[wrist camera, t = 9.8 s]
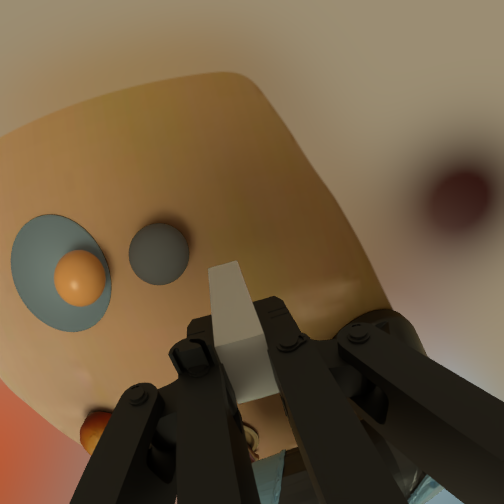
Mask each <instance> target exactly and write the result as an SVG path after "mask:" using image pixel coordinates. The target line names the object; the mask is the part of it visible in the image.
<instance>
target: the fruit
mask: <svg viewBox="0 0 504 504" xmlns="http://www.w3.org/2000/svg"><path fill="white" fill-rule="evenodd" d="M111 415H112V414H111V413H107V412H101V411H97V412H94V413H90V412H89V414H88V416H87V418H86V419H85V421H84V423H83V425H82V427H81V429H80V442H81V444H82V446H83V447H84V448H85V450H86V451H87V452H88V453H89V454H90V455H92V453H93V451H94V449H95V447H96V445H97V443H98V441H99V439H100V437H101V435H102V433H103V431H104V429H105V427H106V425H107V423H108V421H109V419H110V417H111Z"/></svg>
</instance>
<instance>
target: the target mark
mask: <svg viewBox="0 0 504 504" xmlns="http://www.w3.org/2000/svg"><path fill="white" fill-rule="evenodd" d="M74 250H84V251H88V252H90V253H92V254H93V255H95V256H96V257H97V258H98V259H99V260H100V262H101V263H102V265H103V268H104V271H105V276H106V282H105V288H104V290H103V293H102V294H101V296H100V297H99V298H98V299H97V301H95V302H94V303H92V304H90V305H88V306H83V307H77V306H73V305H70V304H69V303H67V302H66V301H64V300H63V299H62V298H61V297H60V295H59V294H58V292H57V290H56V288H55V284H54V271H55V268H56V265H57V263H58V261H59V260H60V259H61V258H62V257H63V256H64V255H65V254H67V253H68V252H71V251H74ZM11 270H12V276H13V280H14V283H15V286H16V289H17V291H18V293H19V295H20V297H21V299H22V301H23V302H24V304H25V305H26V306H27V308H28V309H29V310H30V311H31V312H32V313H33V314H34V315H35V316H36V317H37V318H38V319H39V320H41V321H42V322H44V323H45V324H47V325H48V326H51V327H53V328H55V329H58V330H61V331H66V332H78V331H83V330H86V329H88V328H90V327H92V326H94V325H95V324H96V323H97V322H98V321H99V320H100V319H101V318H102V317H103V315H104V313H105V312H106V310H107V307H108V305H109V301H110V297H111V278H110V272H109V268H108V265H107V262H106V259H105V257H104V255H103V253H102V251H101V249H100V247H99V246H98V244H97V243H96V241H95V240H94V239H93V238H92V236H91V235H90V234H89V233H88V232H87V231H86V230H85V229H84V228H83V227H81V226H80V225H79V224H77V223H76V222H74V221H72V220H70V219H68V218H65V217H63V216H58V215H43V216H39V217H36V218H34V219H32V220H30V221H29V222H28V223H26V224H25V225H24V226H23V227H22V228H21V230H20V231H19V233H18V234H17V236H16V238H15V241H14V244H13V247H12V253H11Z"/></svg>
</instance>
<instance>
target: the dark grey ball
mask: <svg viewBox="0 0 504 504" xmlns="http://www.w3.org/2000/svg"><path fill="white" fill-rule="evenodd" d="M188 260H189V248H188V245H187V242H186V240H185V238H184V236H183V235H182V234H181V233H180V232H179V231H178V230H177V229H176V228H174V227H172V226H170V225H167V224H162V223H156V224H150V225H148V226H146V227H144V228H142V229H141V230H140V231H138V232H137V234H136V235H135V236H134V238H133V239H132V241H131V244H130V248H129V261H130V264H131V267H132V269H133V271H134V272H135V274H136V275H137V276H138V277H139V278H140V279H142V280H143V281H145V282H147V283H149V284H153V285H165V284H169V283H171V282H173V281H175V280H176V279H178V278H179V277H180V276H181V275H182V274H183V272H184V271H185V269H186V267H187V264H188Z"/></svg>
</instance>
